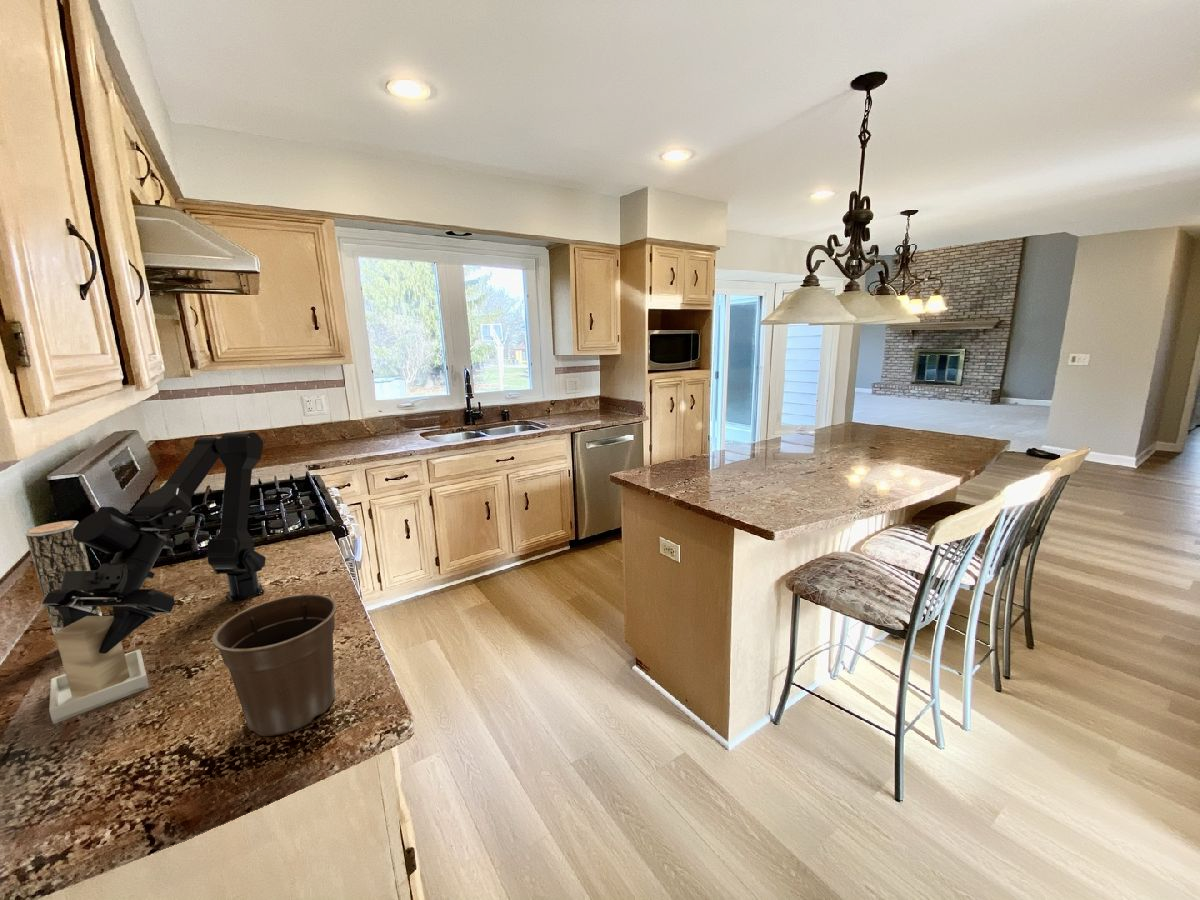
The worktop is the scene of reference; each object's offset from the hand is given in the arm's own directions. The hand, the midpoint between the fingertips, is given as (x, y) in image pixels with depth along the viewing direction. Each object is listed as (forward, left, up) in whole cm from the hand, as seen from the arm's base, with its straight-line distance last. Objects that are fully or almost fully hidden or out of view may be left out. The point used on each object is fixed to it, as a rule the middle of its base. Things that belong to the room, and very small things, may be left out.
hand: (82, 653), depth 80 cm
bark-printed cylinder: (-23, -1, -8) cm, 24 cm away
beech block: (-1, +1, -7) cm, 8 cm away
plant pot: (+29, +22, -8) cm, 37 cm away
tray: (-1, +1, -8) cm, 8 cm away
